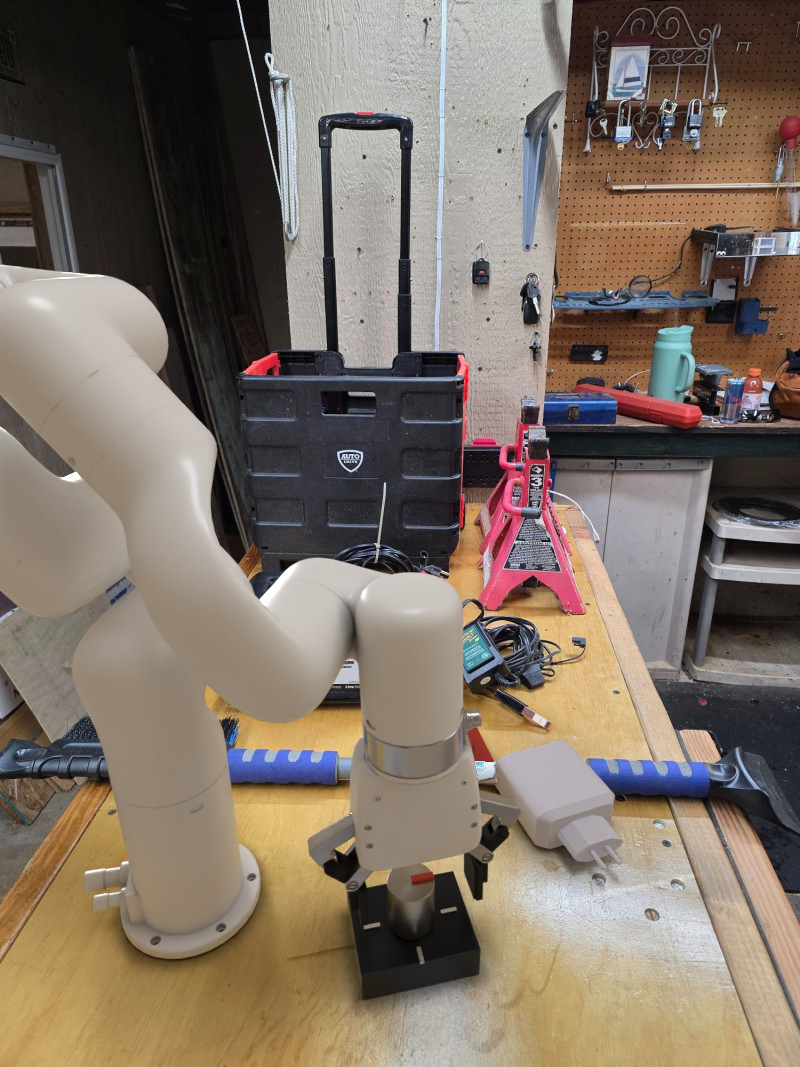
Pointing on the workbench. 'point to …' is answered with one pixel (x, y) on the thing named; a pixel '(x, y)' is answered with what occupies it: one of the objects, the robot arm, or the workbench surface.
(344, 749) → the workbench surface
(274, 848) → the workbench surface
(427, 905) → the dial
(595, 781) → the charger
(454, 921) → the black flat block
